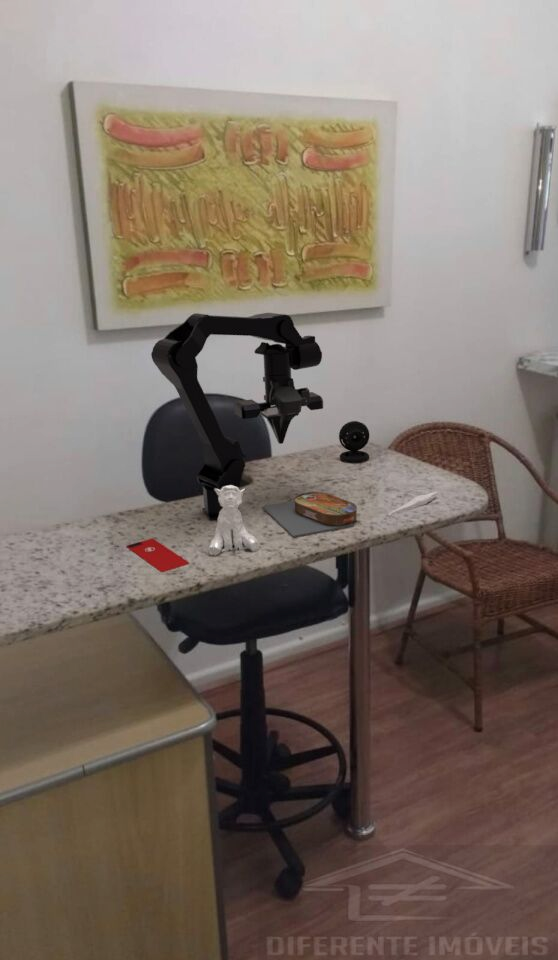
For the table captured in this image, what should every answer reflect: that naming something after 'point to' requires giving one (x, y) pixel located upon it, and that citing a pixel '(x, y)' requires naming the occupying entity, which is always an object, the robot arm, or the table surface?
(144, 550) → the electronic device
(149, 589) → the table surface
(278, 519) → the mat
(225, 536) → the white creature statuette
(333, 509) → the tin
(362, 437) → the webcam
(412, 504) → the white tapered figurine
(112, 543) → the table surface
